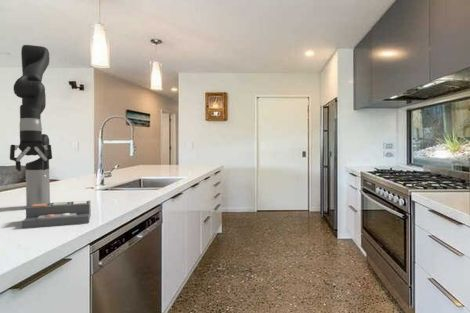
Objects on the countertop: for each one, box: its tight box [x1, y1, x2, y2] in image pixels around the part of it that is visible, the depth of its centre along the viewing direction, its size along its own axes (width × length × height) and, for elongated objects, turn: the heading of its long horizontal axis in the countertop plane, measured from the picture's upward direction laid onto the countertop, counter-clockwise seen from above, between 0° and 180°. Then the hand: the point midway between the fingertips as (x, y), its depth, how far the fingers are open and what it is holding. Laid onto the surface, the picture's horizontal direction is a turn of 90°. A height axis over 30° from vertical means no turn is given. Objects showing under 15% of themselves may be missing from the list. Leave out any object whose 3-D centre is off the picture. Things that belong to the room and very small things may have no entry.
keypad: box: [22, 200, 92, 229], centre depth 120 cm, size 14×21×6 cm
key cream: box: [73, 200, 88, 205], centre depth 124 cm, size 5×5×2 cm
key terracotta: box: [31, 203, 48, 207], centre depth 119 cm, size 5×5×2 cm
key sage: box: [52, 201, 69, 206], centre depth 122 cm, size 5×5×2 cm
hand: (31, 170), depth 129 cm, fingers open, 8 cm apart
